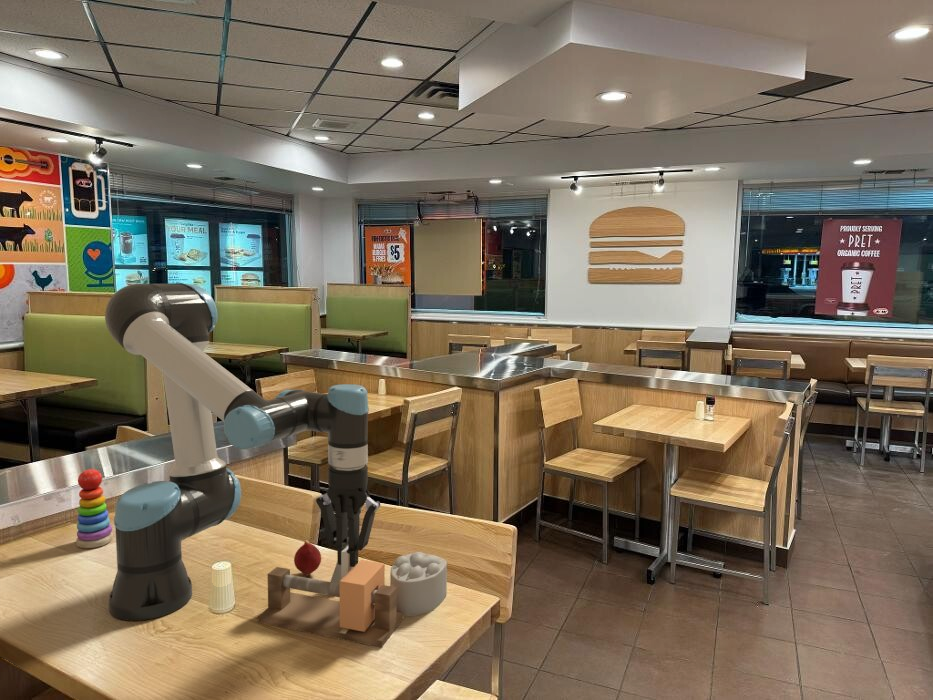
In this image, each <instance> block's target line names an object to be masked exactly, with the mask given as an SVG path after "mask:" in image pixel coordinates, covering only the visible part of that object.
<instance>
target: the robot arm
mask: <svg viewBox="0 0 933 700" xmlns="http://www.w3.org/2000/svg"><path fill="white" fill-rule="evenodd" d="M104 311H105V312H104V321H105V325H106V328H107V331H108V332H109V335H110V336H111V337H112V338H113V340H114V341H115V342H116V343H117V344H118V345H119V346H120V347H122V349H124V350H125V351H126V352H127V353H129V354H131V355H135V356H139V355H140V356H142V357H143V358H144V359H146V360H147V361H148V362H149V363H150V364H152V365H153V366H154V367H156V369H158V370H159V371H160V372H162V376H163V377H162V378H163V384H164V392H165V393H164V394H165V397H166V398H165V399H166V405H167V413H168V420H169V421H168V422H169V427H170V436H171V440H172V441H171V442H172V447H173V449H172V450H173V455H174V463H175V464H174V466H173V467H172V469H171V470H170V472H169V473H168V474H169V475H168V477H169V480H158V481H157V480H156V481H152V482H150V483H147V482H146V483H143V484H139V485H137V486H134V487H132V488H130V489H128V490H126V491H124V492H123V493H122V494H121V495H120V496H119V497H118V498H117V500H116V503H115V506H114V517H113V524H114V526H115V528H114V529H115V543H116V544H115V546H116V547H115V548H116V565H117V567H116V568H117V571H116V574H115V578H114V580H113V585H112V588H111V592H110V594H109V597H108V598H109V599H108V610H109V613H110V615H111V616H112V617H114V618H115V619H118V620H122V621H131V622H135V621H136V622H137V621H138V622H139V621H145V620H152V619H156V618H160V617H163V616H166V615H168V614H169V615H170V614H171V613H173V612H175V611H178V610H179V609H181V608H182V607H184V606H185V605H186V604H187V603H189V602H190V600H192V597H193V584H192V580H191V578H190V577H189V575H188V572H187V571H188V570H187V569H186V567H185V564H184V561H183V557H182V541H183V540H186V539H188V538H190V537H192V536H194V535H196V534H199V533H201V532H203V531H206V530H207V529H209V528H212V527H215V526H219V525H221V524H222V523H223V522H224V521H226V520H228V519H229V518H231V517H232V516H233V515H234V514H235V512H236V511H237V510H238V508H239V507H240V504H241V499H242V489H241V488H242V487H241V483H240V480H239V479H238V477H236V474H235V472H233V471H232V470H230V469H229V468H227V463H226V461H224V460H223V459H221V458H219V456H218V451H217V445H216V444H217V443H216V438H215V437H216V436H215V429H214V423H213V422H214V421H213V414H214V415H215V416H216V417H217V418H219V419H220V420H221V421H222V422H223V434H224V435H225V437H226V438H227V439H228V440H227V441H228V443H229V444H230V445H231V446H233V447H234V448H236V449H238V450H241V451H242V450H244V451H245V450H246V451H247V450H251V449H254V448H259V447H264V446H267V444H271V443H273V442H275V441H278V440H281V439H285V438H288V437H291V436H294V435H296V434H299V433H302V432H305V431H311V432H319V433H327V440H328V443H327V444H328V445H327V446H328V447H327V448H328V450H327V451H328V453H327V456H328V460H327V461H328V462H327V463H328V465H329V467H328V468H327V469H328V470H327V472H328V473H327V477H328V479H327V481H328V488H327V489H326V493H323V494H321V495H320V496H318V497H317V498H316V499H315V502H316V504H317V505H318V508H319V509H320V512H321V513H320V514H321V517H322V521H323V526H324V531H325V535H326V541H327V544H328V545H329V547H335V548H336V550H337V561H336V563H337V562H338V565H341V579H342V578H343V577H344V576H345V575H346V574H347V573H348V572H349V571H350V570H351V569H352V568H353V567H355V566H356V565H357V564H358V563H359V551H362V550H363V549H364V548H366V547H367V546H368V544H369V539H370V536H371V532H372V528H373V524H374V520H375V517H376V513H377V511H378V510H379V508H380V506H381V502H380V501H379V500H376V501H375V500H374V499H372V498H371V497H370V493H369V492H370V491H369V490H368V480H369V477H368V476H369V474H368V473H369V471H368V470H369V469H368V468H369V467H368V466H367V464H368V463H369V455H368V454H369V450H368V448H369V447H368V446H369V445H368V443H369V441H368V435H369V434H368V432H369V431H368V430H369V429H368V428H369V426H368V423H369V411H370V408H369V401H368V399H369V398H368V397H369V395H368V390H367V389H366V388H365V386H363V385H359V384H353V383H352V384H351V383H350V384H347V383H345V384H341V383H340V384H336V385H335V384H334V385H331V386H330V387H329V388H328V391H327V393H323V392H316V391H306V390H302V389H285V390H282V391H281V392H279V394H278V395H277V396H275V398H272V399H265V398H264V397H263V396H261V395H260V394H258V392H255V391H254V389H252V388H250V387H249V386H248V385H246V383H244V382H243V381H242V380H240V379H239V378H238V377H236V376H235V375H234V374H233V373H231V372H230V371H229V370H227V369H226V368H225V367H223V366H222V365H221V364H220V363H219V362H217V361H216V360H214V359H213V358H212V357H211V356H210V355H208V354H207V353H206V352H204V351H205V349H206V347H207V346H208V345H209V344H210V337H209V334H210V333H211V332H212V331H213V330H215V328H216V326H215V325H216V324H217V322H218V309H217V306H216V303H215V300H214V299H213V297H212V295H211V294H210V293H209V292H208V291H206V290H205V288H204V287H201V286H199V285H197V284H192V283H184V282H181V283H180V282H176V283H175V282H174V283H131V284H129V285H126V286H123V287H122V288H120V289H118V290H117V291H116V292H115V293H114V294H113V295H112V296H111V297H110V298H109V300H108V302H107V304H106V307H105V310H104ZM364 505H365V508H364V510H365V513H364V516H363V520H362V523H361V525H360V522H361V521H360V515H361V513H362V512H361V511H362V507H363V506H364ZM333 506H334V508H333ZM360 527H361V528H360ZM347 544H348V546H347V547H346V545H347Z"/></svg>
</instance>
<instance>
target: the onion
mask: <svg viewBox="0 0 933 700" xmlns="http://www.w3.org/2000/svg"><path fill="white" fill-rule="evenodd" d="M293 563H294V566H295V568H296V569H297V570H298V571H299V572H300V573H302V574H304V575H305V576H310V575H311V574H312V573H314V572H315V571H317V570H318V568H319V566H320V565H321V563H322V554H321V552H320V550H319V548H318V547H317V546H315V545H314V544H312V543H311V542H309V541H308V540H307V539H306V540H304V544H302V545H301V546H300V547H299V548H298V549H297V550H296V552H295V554H294V557H293Z"/></svg>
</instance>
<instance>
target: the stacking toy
mask: <svg viewBox="0 0 933 700" xmlns="http://www.w3.org/2000/svg"><path fill="white" fill-rule="evenodd" d="M102 482H103V475H102V473H101V472H100V471H99V470H97V469H94V468H92V469H90V468H89V469H86V470H83V471H82V472H81V473H80V474H79V475H78V478H77V484H78V485H79V487H80V488H81V490H80V491H79V493H78V496H79V498H80V499H79V502H78V504H79V506H78V508H77V513H78V515H77V521H78V522H77V524H76V529H77V532H76V537H77V538H76V539H75V544H76V546H77V547H78V548H79V549H80V548H81V549H95V548H99V547H103V546H105V545H107V544H109V543H110V542H112V541H113V539H114V533H113V526H112V525H111V524H110V523H111V521H110V517H109V511H108V510H107V507H108V506H107V503H105V502H106V497H105V495H103V493H104V489H103V488H102V487H101V484H102Z"/></svg>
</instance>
